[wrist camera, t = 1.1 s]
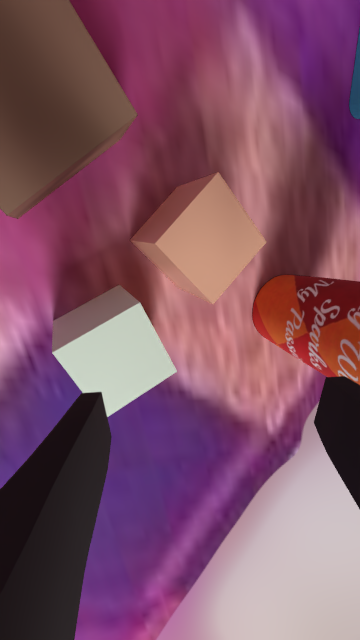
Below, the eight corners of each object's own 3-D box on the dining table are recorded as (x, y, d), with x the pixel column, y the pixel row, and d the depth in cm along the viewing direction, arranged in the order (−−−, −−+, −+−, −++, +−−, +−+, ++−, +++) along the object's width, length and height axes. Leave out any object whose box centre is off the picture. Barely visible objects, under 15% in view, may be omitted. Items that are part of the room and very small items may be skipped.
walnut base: (18, 219, 15) (6, 215, 11) (-122, 72, 11) (-200, 2, 8) (119, 141, 16) (137, 114, 12) (15, -17, 12) (-1, -115, 9)
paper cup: (247, 259, 21) (523, 301, 9) (321, 262, 24) (603, 295, 12) (235, 356, 23) (441, 499, 11) (304, 347, 26) (526, 451, 14)
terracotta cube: (177, 287, 19) (213, 304, 15) (129, 240, 17) (154, 243, 13) (219, 239, 20) (266, 241, 15) (177, 186, 17) (218, 172, 13)
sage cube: (92, 375, 19) (103, 419, 14) (53, 320, 17) (52, 352, 12) (149, 340, 20) (176, 371, 15) (119, 284, 18) (140, 302, 13)
